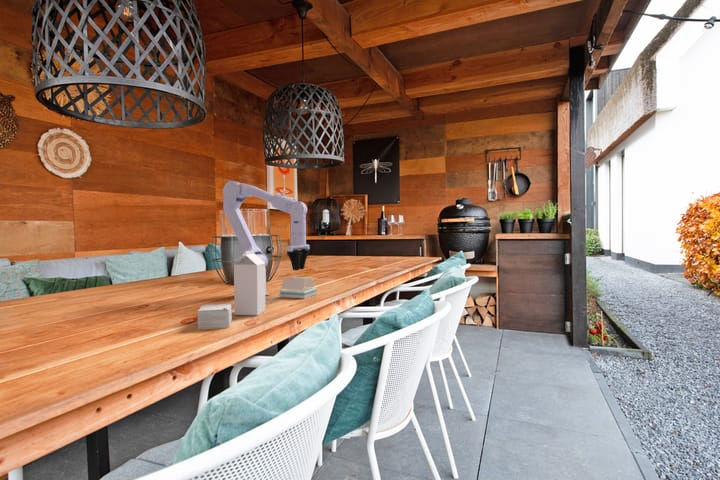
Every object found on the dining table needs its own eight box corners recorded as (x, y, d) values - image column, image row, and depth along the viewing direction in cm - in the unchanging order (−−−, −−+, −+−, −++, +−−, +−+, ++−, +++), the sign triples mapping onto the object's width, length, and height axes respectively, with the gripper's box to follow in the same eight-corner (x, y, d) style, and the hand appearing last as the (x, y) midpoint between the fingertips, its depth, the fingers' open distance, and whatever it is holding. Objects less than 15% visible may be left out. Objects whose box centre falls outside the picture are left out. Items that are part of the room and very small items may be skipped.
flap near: (281, 289, 148) (284, 278, 150) (303, 290, 145) (305, 279, 147) (281, 288, 148) (283, 278, 149) (303, 289, 145) (305, 279, 146)
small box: (202, 323, 109) (202, 304, 109) (232, 321, 111) (232, 303, 111) (197, 330, 102) (196, 310, 101) (229, 328, 103) (229, 309, 103)
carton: (304, 298, 144) (304, 291, 144) (279, 297, 148) (279, 290, 148) (316, 294, 154) (316, 287, 154) (293, 292, 157) (293, 286, 157)
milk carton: (265, 310, 124) (265, 249, 123) (257, 316, 117) (257, 251, 116) (243, 310, 125) (242, 249, 124) (234, 315, 118) (233, 251, 117)
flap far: (314, 286, 154) (312, 278, 152) (294, 285, 157) (291, 277, 155) (315, 286, 154) (312, 277, 152) (294, 284, 157) (292, 276, 155)
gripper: (298, 234, 142) (298, 272, 142) (316, 233, 156) (316, 268, 156) (281, 233, 144) (281, 271, 145) (300, 233, 158) (300, 267, 158)
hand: (298, 269), depth 151 cm, fingers open, 3 cm apart
